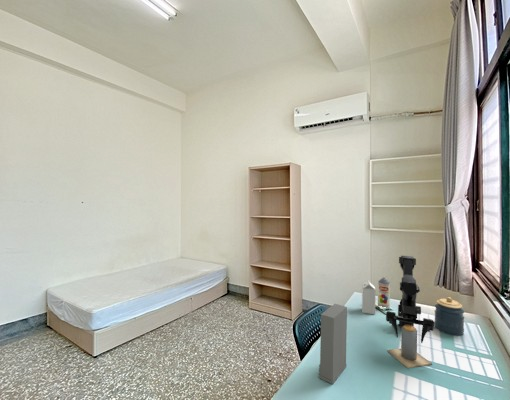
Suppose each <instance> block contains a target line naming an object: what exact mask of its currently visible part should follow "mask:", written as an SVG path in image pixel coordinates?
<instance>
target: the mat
mask: <svg viewBox="0 0 510 400" xmlns="http://www.w3.org/2000/svg"><path fill="white" fill-rule="evenodd" d="M387 352H388V353H389V354H390V355H391V356H392V357H394V358H395V359H396V360H397V361H399V362H400V363H401V364H402V365H403V366H404V367H406V368H407V369H410V368H417V367H425V366H432V365H433V363H432V362H431V361H430V360H428V359H427V358H425V357H424V356H423V355H421V354H419V352H417V359H416V360H414V361H412V360H408V359H405V358H404V357H402V356H401V348H395V349H388V350H387Z"/></svg>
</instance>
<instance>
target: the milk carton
mask: <svg viewBox="0 0 510 400" xmlns="http://www.w3.org/2000/svg"><path fill="white" fill-rule="evenodd" d="M361 287H362V289H361V291H362V293H361V311H362V313H364V314H369V315H376V293H377V292H376V287H375V285H374V284H372V283H371V282H370V279H368V281H365V282H363V283H362V285H361Z"/></svg>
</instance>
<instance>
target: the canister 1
mask: <svg viewBox="0 0 510 400" xmlns="http://www.w3.org/2000/svg"><path fill="white" fill-rule="evenodd" d="M415 328H416V327H415V326H411V325H404V326H402V328H401V331H400V334H401V336H400V337H401V339H400V341H401V342H400V345H401V346H400V349H401V356H402V357H404V358H405V359H408V360H412V361H414V360H416V359H417V353H418V330H417V328H416V329H415Z"/></svg>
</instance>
